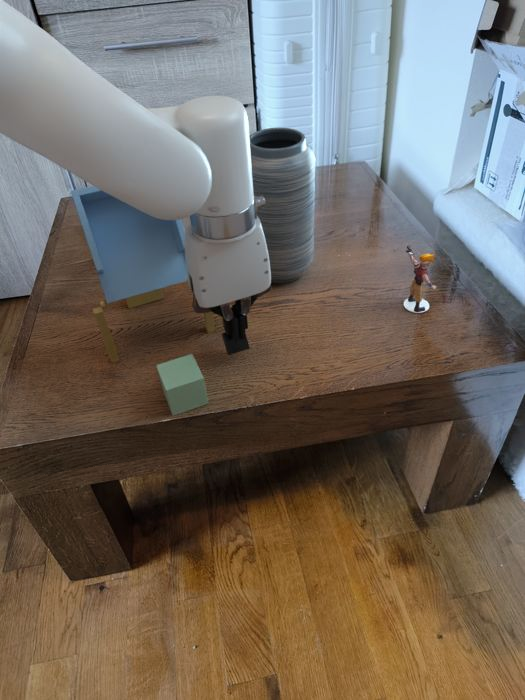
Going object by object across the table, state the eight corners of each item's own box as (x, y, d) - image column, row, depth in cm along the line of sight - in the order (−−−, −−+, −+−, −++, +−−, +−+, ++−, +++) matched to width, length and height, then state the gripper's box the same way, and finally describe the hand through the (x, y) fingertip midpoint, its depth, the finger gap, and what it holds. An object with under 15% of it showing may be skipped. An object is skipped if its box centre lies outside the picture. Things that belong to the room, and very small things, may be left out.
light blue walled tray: (133, 383, 71) (135, 390, 66) (73, 200, 67) (70, 190, 62) (246, 347, 75) (256, 350, 70) (195, 173, 72) (202, 161, 66)
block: (172, 416, 67) (165, 390, 64) (162, 390, 71) (155, 365, 67) (208, 403, 69) (203, 377, 65) (197, 379, 72) (192, 353, 69)
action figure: (390, 281, 86) (398, 232, 80) (407, 279, 87) (415, 229, 80) (417, 326, 78) (428, 275, 71) (436, 324, 78) (448, 272, 71)
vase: (326, 264, 91) (331, 132, 75) (286, 297, 85) (283, 161, 69) (275, 244, 97) (269, 118, 81) (234, 273, 90) (220, 143, 75)
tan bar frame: (111, 363, 75) (91, 307, 68) (96, 311, 85) (77, 257, 77) (215, 331, 79) (206, 274, 72) (190, 285, 89) (180, 231, 81)
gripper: (269, 188, 64) (274, 304, 76) (151, 216, 60) (178, 334, 72) (295, 214, 58) (296, 334, 71) (168, 247, 55) (193, 368, 67)
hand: (236, 334), depth 72 cm, fingers closed
